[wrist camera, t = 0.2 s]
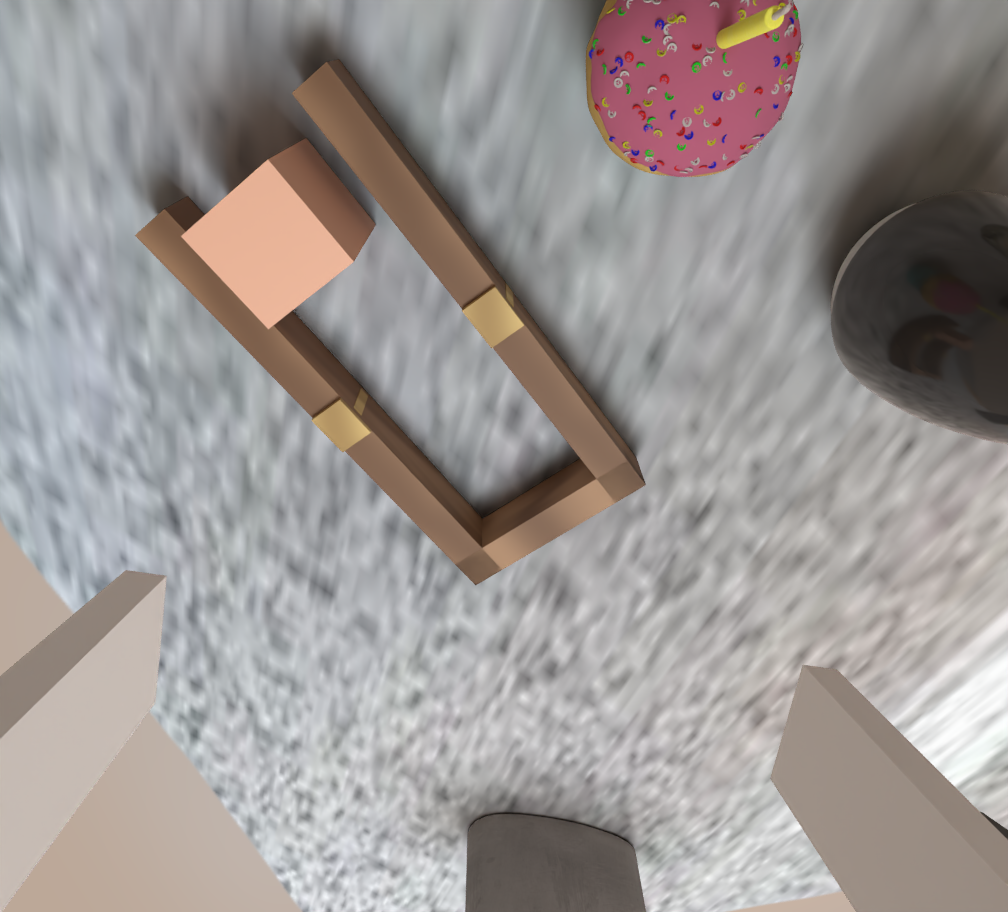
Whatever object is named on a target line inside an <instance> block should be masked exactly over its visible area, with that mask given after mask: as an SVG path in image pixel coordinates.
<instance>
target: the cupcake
mask: <svg viewBox="0 0 1008 912" xmlns="http://www.w3.org/2000/svg"><path fill="white" fill-rule="evenodd" d="M802 47H803V43H802V44H801V31H800V24H799V19H798V12H797V8H796V6H795V5H794V3H793V0H607V1H606V3H605V5H604V7H603V9H602V12H601V14H600V16H599V18H598V22H597V25H596V27H595V30H594V32H593V34H592V36H591V39H590V41H589V43H588V46H587V50H586V82H587V101H588V107H589V111H590V113H591V116H592V118H593V120H594V122H595V124H596V125H597V127H598V129H599V131H600V133H601V135H602V137H603V139H604V140H605V142H606V144H607V145H608V146H609V148H610V149H611V150H612V151H613V152H614V153H615V154H616V155H617V156H618V157H620V158H621V159H622V160H624V161H625V162H627V163H628V164H630V165H631V166H633V167H635V168H637V169H639V170H642V171H645V172H648V173H652V174H658V175H667V176H677V177H698V176H706V175H712V174H716V173H719V172H722V171H724V170H727V169H729V168H730V167H732V166H733V165H735V164H736V163H737V162H738V161H740V160H741V159H742V158H745V157H747V156H748V153H749V152H750V151H751V150H752V149H753V148H755V149H757V148H758V147H759V146H760V145H761V140H762V139H763V138H764V137H765V136H766V135H767V134H768V133H769V131H770V130H771V129H772V128H773V127H774V126H775V124H776V123H777V122H778V120H779V121H782V120H783V117H784V115H783V113H784V111H785V109H786V106H787V104H788V101H789V98H790V96H791V94H792V88H793V84H794V80H795V76H796V72H797V67H798V62H799V59H800V51H801V50H802ZM781 116H782V118H781ZM758 143H759V145H757V144H758ZM756 145H757V146H756Z"/></svg>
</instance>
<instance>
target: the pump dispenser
mask: <svg viewBox="0 0 1008 912" xmlns="http://www.w3.org/2000/svg"><path fill="white" fill-rule="evenodd" d="M831 330H832V337H833V342H834V345H835V349H836V351H837V354H838V356H839V358H840V360H841V361H842V363H843V365H844V366H845V367H846V369H847V370H848V371H849V372H850V373H851V374H852V376H853V377H854V378H856V379H857V380H858V381H859V382H860V383H861V384H862V385H863V386H865V387H866V388H867V389H868V390H870V391H871V392H873V393H874V394H876V395H877V396H879V397H880V398H882V399H884V400H885V401H887V402H889V403H890V404H892V405H894V406H896V407H898V408H899V409H901V410H903V411H905V412H907V413H909V414H911V415H913V416H915V417H917V418H919V419H922V420H924V421H927V422H929V423H932V424H934V425H937V426H940V427H942V428H945V429H948V430H951V431H955V432H958V433H961V434H965V435H968V436H972V437H975V438H979V439H983V440H988V441H992V442H997V443H1002V444H1008V197H1007V196H1004V195H1000V194H996V193H992V192H987V191H977V190H966V191H955V192H949V193H944V194H940V195H937V196H933V197H930V198H928V199H925V200H923V201H920V202H917V203H914V204H912V205H909V206H906V207H904V208H902V209H900V210H898V211H896V212H894V213H892V214H890V215H889V216H887V217H886V218H884V219H883V220H881V221H880V222H878V223H877V224H876V225H874V226H873V227H872V228H871V229H870V230H869V231H867V232H866V233H865V234H864V235H863V236H862V237H861V238H860V240H859V241H858V242H857V243H856V244H855V245H854V247H853V248H852V249H851V251H850V252H849V254H848V255H847V257H846V258H845V260H844V262H843V264H842V266H841V268H840V270H839V272H838V275H837V278H836V280H835V284H834V288H833V292H832V299H831Z"/></svg>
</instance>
